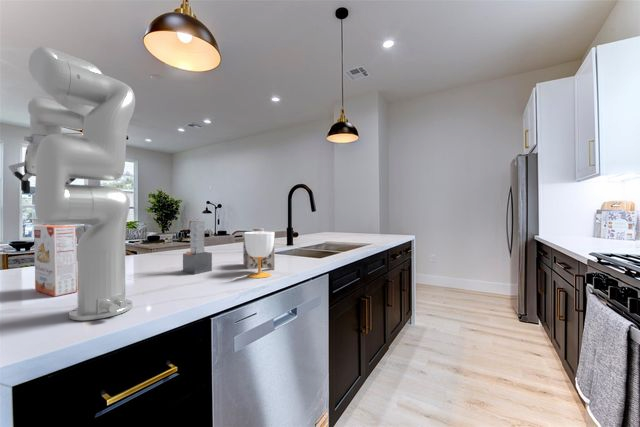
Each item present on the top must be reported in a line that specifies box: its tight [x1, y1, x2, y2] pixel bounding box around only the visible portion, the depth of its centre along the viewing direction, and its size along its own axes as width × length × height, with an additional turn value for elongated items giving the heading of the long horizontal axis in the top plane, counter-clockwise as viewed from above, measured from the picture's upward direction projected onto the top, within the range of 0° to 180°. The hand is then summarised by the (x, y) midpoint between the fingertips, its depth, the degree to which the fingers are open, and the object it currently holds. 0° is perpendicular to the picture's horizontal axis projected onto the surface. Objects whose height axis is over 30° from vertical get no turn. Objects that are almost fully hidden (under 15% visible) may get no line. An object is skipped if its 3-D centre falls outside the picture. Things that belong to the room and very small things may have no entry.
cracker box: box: [33, 224, 78, 298], centre depth 87 cm, size 14×6×21 cm, turn 62°
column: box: [189, 220, 205, 255], centre depth 110 cm, size 4×4×20 cm
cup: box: [243, 230, 275, 279], centre depth 110 cm, size 12×12×17 cm
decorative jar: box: [242, 227, 276, 272], centre depth 123 cm, size 12×12×18 cm
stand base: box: [182, 251, 213, 275], centre depth 111 cm, size 12×12×10 cm
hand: (46, 194), depth 94 cm, fingers open, 9 cm apart
